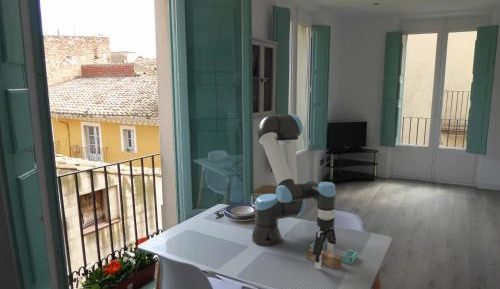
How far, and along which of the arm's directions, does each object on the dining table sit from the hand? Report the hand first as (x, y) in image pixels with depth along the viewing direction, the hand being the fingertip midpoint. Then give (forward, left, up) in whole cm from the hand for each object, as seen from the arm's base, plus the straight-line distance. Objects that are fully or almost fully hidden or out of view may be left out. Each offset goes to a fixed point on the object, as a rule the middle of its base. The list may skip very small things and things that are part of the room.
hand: (324, 262), depth 160 cm
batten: (0, 0, 0) cm, 0 cm away
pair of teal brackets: (0, +10, 0) cm, 10 cm away
